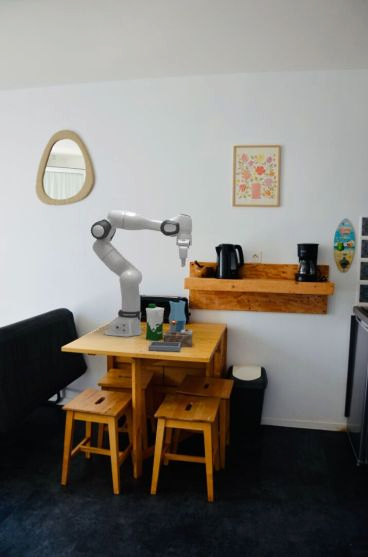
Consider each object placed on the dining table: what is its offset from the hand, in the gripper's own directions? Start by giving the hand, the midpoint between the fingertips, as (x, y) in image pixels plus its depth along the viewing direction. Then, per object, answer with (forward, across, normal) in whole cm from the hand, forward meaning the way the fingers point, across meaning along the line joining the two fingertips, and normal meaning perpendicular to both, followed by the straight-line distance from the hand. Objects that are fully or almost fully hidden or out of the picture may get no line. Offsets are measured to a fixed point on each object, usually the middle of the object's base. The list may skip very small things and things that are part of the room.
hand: (183, 266), depth 239 cm
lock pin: (+41, +17, -4) cm, 45 cm away
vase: (+42, -7, -3) cm, 43 cm away
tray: (+42, +27, -7) cm, 51 cm away
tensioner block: (+42, +17, 0) cm, 45 cm away
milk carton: (+42, +7, -15) cm, 45 cm away
